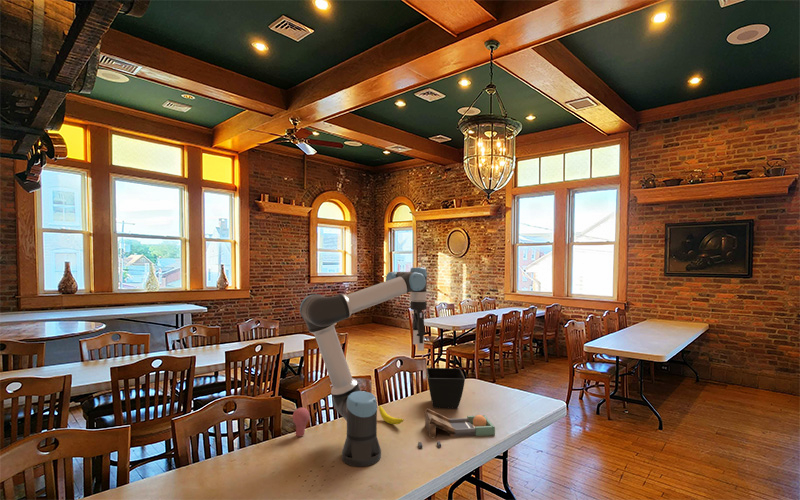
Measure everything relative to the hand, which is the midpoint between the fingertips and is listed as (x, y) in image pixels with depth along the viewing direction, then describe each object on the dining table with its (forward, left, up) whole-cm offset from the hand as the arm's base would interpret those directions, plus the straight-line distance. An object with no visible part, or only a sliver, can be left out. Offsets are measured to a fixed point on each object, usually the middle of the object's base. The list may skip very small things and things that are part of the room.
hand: (418, 347), depth 178 cm
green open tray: (+29, -4, -37) cm, 47 cm away
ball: (+28, -4, -33) cm, 44 cm away
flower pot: (+19, +28, -37) cm, 50 cm away
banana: (-12, +6, -37) cm, 39 cm away
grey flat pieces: (+2, -18, -37) cm, 41 cm away
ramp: (+10, -4, -37) cm, 38 cm away
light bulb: (-52, -3, -37) cm, 64 cm away
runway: (+20, -4, -37) cm, 42 cm away
